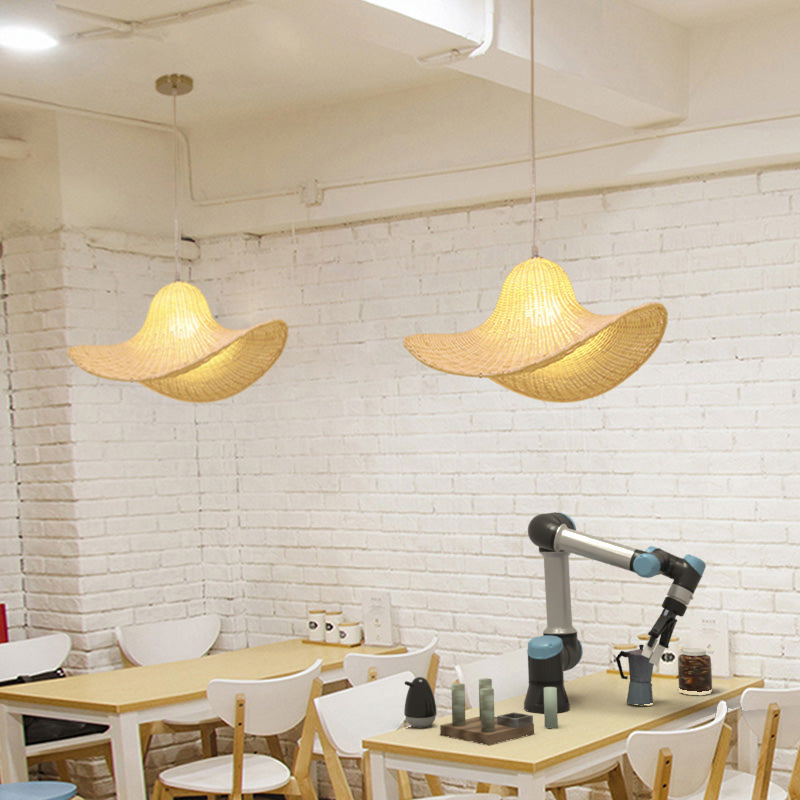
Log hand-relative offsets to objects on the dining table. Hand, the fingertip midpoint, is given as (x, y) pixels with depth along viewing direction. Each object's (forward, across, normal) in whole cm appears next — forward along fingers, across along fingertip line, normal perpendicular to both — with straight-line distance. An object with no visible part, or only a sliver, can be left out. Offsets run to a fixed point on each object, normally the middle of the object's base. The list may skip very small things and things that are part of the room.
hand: (649, 660), depth 377 cm
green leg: (+33, -18, +14) cm, 40 cm away
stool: (+44, -33, +27) cm, 61 cm away
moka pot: (+13, +22, +2) cm, 26 cm away
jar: (0, +48, -8) cm, 49 cm away
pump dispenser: (+52, -27, +49) cm, 77 cm away
